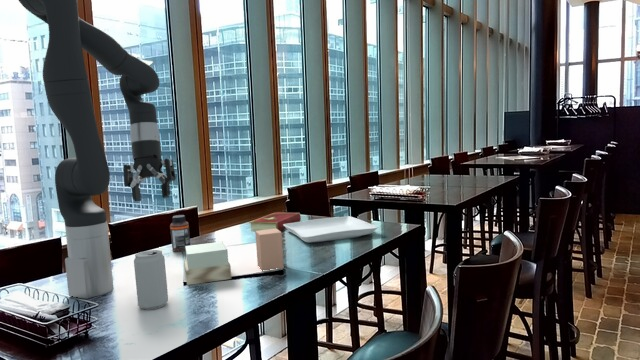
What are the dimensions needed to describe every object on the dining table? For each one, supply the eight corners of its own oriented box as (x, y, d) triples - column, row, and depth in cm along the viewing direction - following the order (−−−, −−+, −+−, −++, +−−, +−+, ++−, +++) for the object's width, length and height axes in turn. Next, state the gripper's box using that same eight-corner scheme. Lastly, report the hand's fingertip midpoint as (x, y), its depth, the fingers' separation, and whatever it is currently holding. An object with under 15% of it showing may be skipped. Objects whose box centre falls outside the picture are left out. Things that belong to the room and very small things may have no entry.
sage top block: (188, 269, 121) (187, 254, 120) (186, 260, 130) (185, 246, 130) (228, 264, 124) (227, 249, 124) (223, 255, 133) (222, 241, 133)
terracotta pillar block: (262, 271, 129) (259, 234, 128) (257, 266, 135) (255, 230, 134) (283, 268, 131) (281, 232, 130) (278, 263, 136) (276, 228, 135)
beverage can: (159, 311, 103) (154, 256, 102) (132, 310, 104) (127, 256, 103) (173, 300, 109) (169, 249, 108) (148, 300, 110) (143, 249, 109)
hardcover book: (301, 222, 200) (300, 212, 199) (277, 233, 180) (276, 222, 180) (275, 221, 204) (274, 211, 204) (249, 232, 185) (249, 221, 185)
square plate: (349, 224, 189) (349, 214, 189) (379, 237, 163) (379, 226, 163) (282, 232, 181) (282, 222, 180) (303, 247, 155) (302, 235, 155)
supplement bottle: (175, 247, 163) (172, 214, 162) (193, 247, 162) (190, 214, 161) (169, 252, 157) (166, 218, 156) (187, 251, 156) (184, 217, 155)
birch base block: (187, 286, 120) (186, 270, 120) (185, 274, 131) (183, 260, 130) (231, 280, 124) (230, 264, 124) (225, 269, 134) (224, 255, 134)
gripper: (114, 143, 130) (120, 203, 129) (161, 135, 127) (168, 196, 126) (130, 145, 137) (136, 202, 136) (176, 138, 134) (182, 196, 133)
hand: (151, 199), depth 131 cm, fingers open, 8 cm apart
